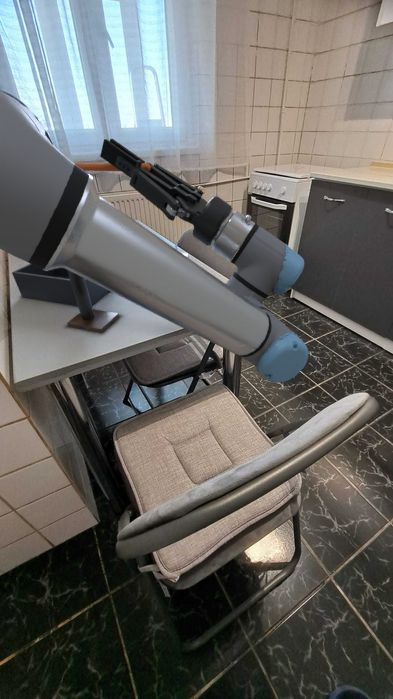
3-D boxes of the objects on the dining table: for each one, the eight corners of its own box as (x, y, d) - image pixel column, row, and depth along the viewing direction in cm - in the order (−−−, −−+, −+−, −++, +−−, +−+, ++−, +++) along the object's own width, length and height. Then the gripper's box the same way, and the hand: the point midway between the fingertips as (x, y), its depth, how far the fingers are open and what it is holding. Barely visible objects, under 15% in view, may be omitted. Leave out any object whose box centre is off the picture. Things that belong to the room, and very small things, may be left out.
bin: (21, 296, 87) (11, 272, 83) (57, 276, 99) (50, 254, 94) (88, 307, 81) (81, 282, 76) (118, 284, 92) (113, 261, 88)
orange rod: (51, 170, 54) (49, 163, 54) (56, 169, 55) (54, 162, 54) (149, 172, 49) (148, 163, 48) (152, 171, 50) (151, 162, 49)
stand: (67, 326, 73) (22, 193, 55) (87, 311, 79) (51, 186, 61) (102, 332, 71) (65, 194, 53) (119, 316, 77) (92, 187, 59)
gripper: (242, 200, 54) (133, 122, 52) (222, 219, 43) (85, 122, 42) (221, 235, 59) (121, 165, 57) (199, 260, 48) (75, 175, 47)
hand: (106, 147), depth 49 cm, fingers closed on orange rod
